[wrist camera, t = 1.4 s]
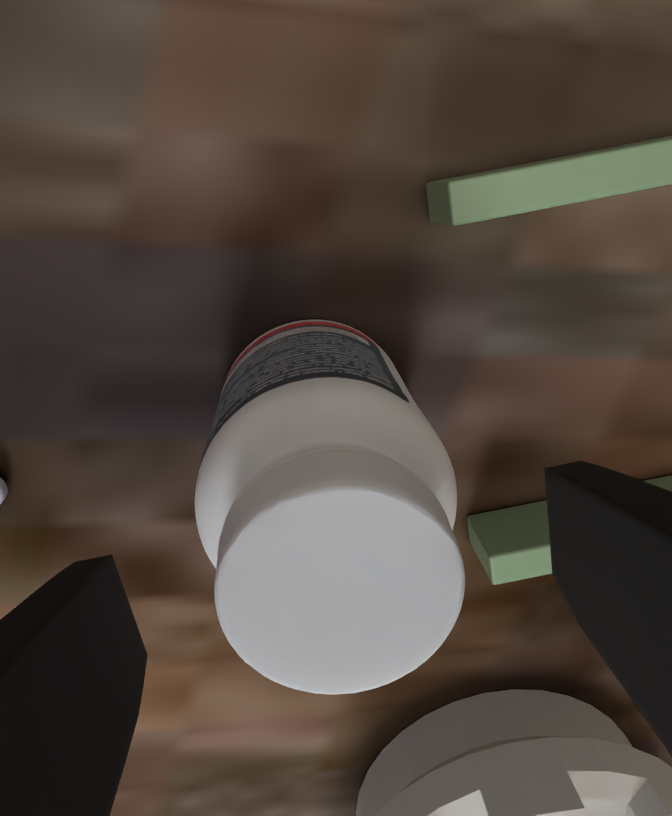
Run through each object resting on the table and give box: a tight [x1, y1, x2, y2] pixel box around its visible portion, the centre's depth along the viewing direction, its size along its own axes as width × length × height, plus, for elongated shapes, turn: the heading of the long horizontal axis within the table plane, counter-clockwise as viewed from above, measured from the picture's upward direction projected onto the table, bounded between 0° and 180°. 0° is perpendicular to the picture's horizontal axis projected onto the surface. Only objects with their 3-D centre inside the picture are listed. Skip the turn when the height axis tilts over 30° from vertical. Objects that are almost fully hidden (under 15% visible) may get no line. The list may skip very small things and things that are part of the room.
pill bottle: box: [195, 319, 465, 694], centre depth 14 cm, size 5×5×9 cm
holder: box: [426, 136, 672, 585], centre depth 17 cm, size 10×11×2 cm
